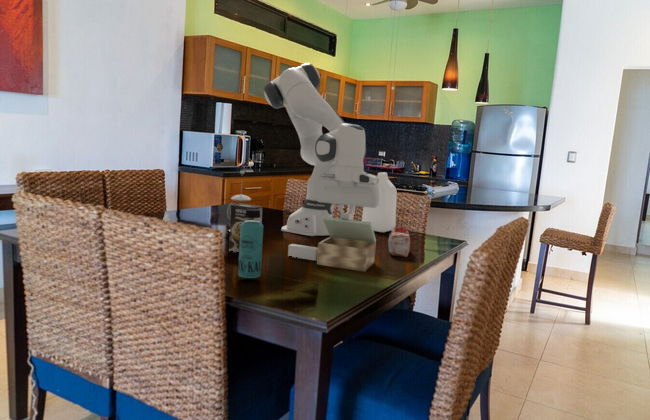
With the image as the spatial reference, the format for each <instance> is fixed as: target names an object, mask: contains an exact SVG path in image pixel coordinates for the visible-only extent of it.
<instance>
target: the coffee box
mask: <svg viewBox="0 0 650 420" xmlns="http://www.w3.org/2000/svg"><path fill="white" fill-rule="evenodd" d="M263 208H264V207H263V206H262V205H255V204H247V203H242V202H239V203H236V204H234V203H233V204H232V203H231V204H230V211H231V217H229V219H230V220H229V229H230V233H229V241H228V242H229V243H228V246H229V247H228V252H230V251H233V252H232V253H236V252H239V246H240V245H239V244H240V231H241V224H242V223H243V222H244V221H247V220H253V221H259V222H260V223H261V224H262V225H263V221H262V220H263V210H264V209H263ZM246 209H258V210H260V218H248V217H245V213H246Z"/></svg>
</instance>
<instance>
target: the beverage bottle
mask: <svg viewBox="0 0 650 420" xmlns="http://www.w3.org/2000/svg"><path fill="white" fill-rule="evenodd" d="M245 217H248V218H260V210H258V209H246V213H245ZM263 237H264V224H263V223H262V224H261V223H260V222H259V221H253V220H247V221H244V222H243V223H242V224H241V231H240V244H239V245H240V246H239V253H238V254H237V255H238V260H237V261H238V262H237V273H238V277H240V278H243V279H256V278H259V277H261V274H262V268H263V267H262V262H263V259H262V258H263V242H264V241H263V240H264V239H263Z"/></svg>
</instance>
